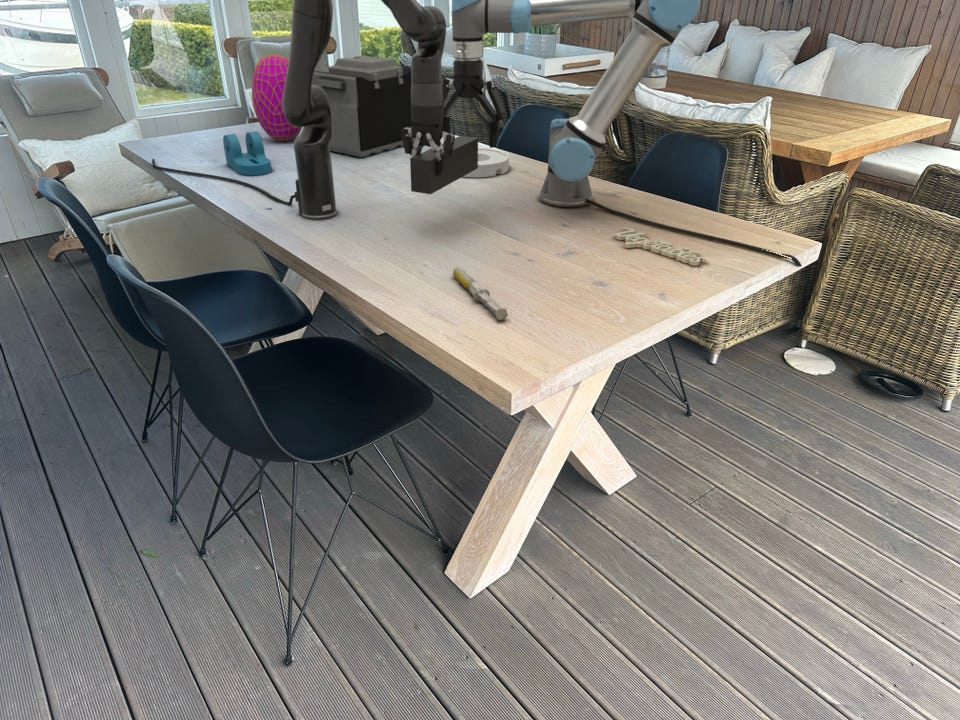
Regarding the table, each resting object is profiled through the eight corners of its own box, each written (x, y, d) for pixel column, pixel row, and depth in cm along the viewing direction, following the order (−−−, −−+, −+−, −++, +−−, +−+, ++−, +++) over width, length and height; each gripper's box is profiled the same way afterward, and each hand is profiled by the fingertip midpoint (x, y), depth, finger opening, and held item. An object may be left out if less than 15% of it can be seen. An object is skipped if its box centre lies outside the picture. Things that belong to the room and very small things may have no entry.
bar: (460, 165, 190) (460, 135, 186) (477, 168, 188) (478, 138, 184) (411, 191, 169) (410, 158, 165) (430, 194, 167) (429, 160, 163)
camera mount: (227, 164, 233) (221, 132, 227) (257, 160, 238) (252, 129, 233) (244, 176, 220) (239, 143, 215) (276, 172, 225) (271, 139, 220)
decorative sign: (601, 235, 175) (625, 226, 181) (600, 238, 175) (625, 230, 181) (689, 266, 158) (713, 255, 164) (689, 269, 158) (713, 259, 164)
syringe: (449, 274, 155) (449, 263, 153) (465, 272, 156) (464, 260, 154) (490, 323, 135) (491, 310, 133) (508, 319, 136) (508, 307, 134)
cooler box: (383, 133, 276) (378, 52, 261) (425, 141, 265) (422, 56, 250) (314, 150, 251) (304, 61, 235) (358, 160, 240) (350, 67, 224)
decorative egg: (293, 132, 276) (283, 50, 261) (319, 140, 264) (310, 56, 249) (249, 139, 265) (236, 54, 250) (273, 148, 253) (261, 60, 238)
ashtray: (443, 158, 243) (443, 147, 241) (508, 159, 242) (508, 148, 240) (437, 176, 223) (437, 164, 221) (508, 178, 222) (509, 165, 220)
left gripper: (392, 101, 161) (395, 173, 169) (446, 107, 156) (447, 181, 164) (408, 96, 167) (411, 166, 175) (461, 102, 161) (461, 173, 170)
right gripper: (417, 58, 175) (422, 143, 186) (508, 62, 167) (507, 151, 177) (431, 55, 181) (435, 137, 192) (519, 59, 172) (518, 145, 183)
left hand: (428, 173), depth 170 cm, fingers closed on bar, 5 cm apart
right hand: (469, 144), depth 185 cm, fingers open, 13 cm apart
